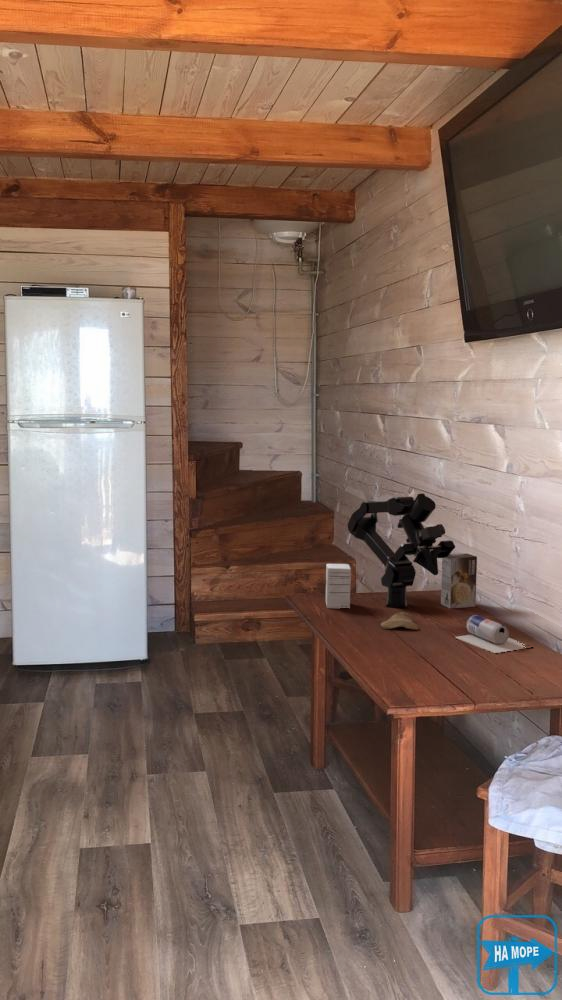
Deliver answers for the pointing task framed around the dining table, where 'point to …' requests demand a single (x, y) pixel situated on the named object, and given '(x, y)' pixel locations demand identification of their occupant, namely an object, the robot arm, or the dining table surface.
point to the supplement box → (338, 585)
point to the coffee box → (459, 581)
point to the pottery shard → (400, 622)
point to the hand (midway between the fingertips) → (436, 574)
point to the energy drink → (487, 629)
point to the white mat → (492, 644)
